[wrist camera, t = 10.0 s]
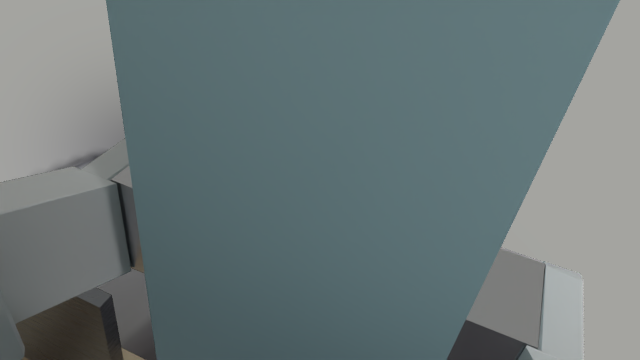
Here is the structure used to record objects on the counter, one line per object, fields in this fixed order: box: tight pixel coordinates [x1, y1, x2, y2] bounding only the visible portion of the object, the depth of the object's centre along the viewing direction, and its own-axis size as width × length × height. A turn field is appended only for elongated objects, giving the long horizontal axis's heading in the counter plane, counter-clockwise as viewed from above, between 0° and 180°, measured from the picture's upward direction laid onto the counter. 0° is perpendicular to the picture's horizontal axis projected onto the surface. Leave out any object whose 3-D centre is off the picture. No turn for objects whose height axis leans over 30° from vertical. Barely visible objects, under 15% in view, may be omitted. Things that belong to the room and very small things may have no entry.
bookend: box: [15, 287, 124, 360], centre depth 22 cm, size 10×2×7 cm, turn 67°
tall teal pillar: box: [106, 0, 620, 360], centre depth 9 cm, size 4×7×14 cm, turn 157°
